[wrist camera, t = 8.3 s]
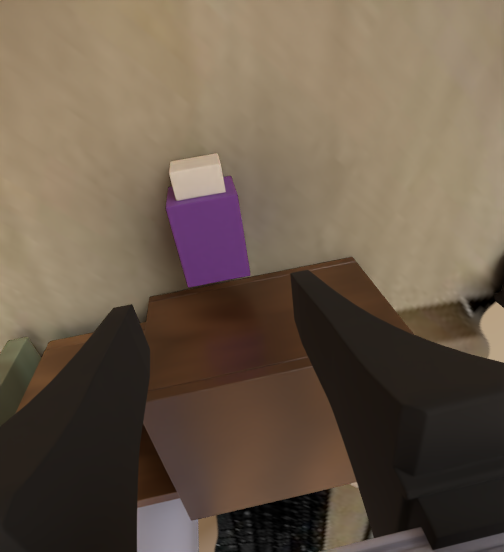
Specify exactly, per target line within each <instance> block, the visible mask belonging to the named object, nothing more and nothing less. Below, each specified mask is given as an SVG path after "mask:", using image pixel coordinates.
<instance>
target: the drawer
mask: <svg viewBox="0 0 504 552" xmlns="http://www.w3.org/2000/svg"><path fill="white" fill-rule="evenodd" d="M140 325H141V328H142V330H143V333H145V326H146V322H143V323H140ZM92 334H93V333H89V334H84V335H79V336H74V337H69V338H64V339H59V340H54V341H50V342H49V343H48V345H47V348H46V350H45V351H44V353H43V356H42V358H41V357H40V355H39V354H38V352H37V351H36V349H35V347H34V346H33V344H32V343H31V341H30V340H29V338H28V337H24V338H19V339H14V340H9V341H8V342H7V343H6V345H5V347H4V348H3V350H2V352H1V353H0V426H1V425H2V424H4V423H5V422H6V421H7V420H8V419H10V418H11V417H12V416H13V415H14V414H16V413H17V412H18V411H19V410H20V409H22V408H23V407H24V406H25V405H26V404H27V403H29V402H30V401H31V400H32V399H33V398H34V397H35V396H36V395H37V394H38V393H39V392H40V391H41V390H42V389H43V388H45V387H46V386H47V385H48V384H49V383H50V382H51V381H52V380H53V378H54V377H55V376H56V375H57V374H58V373H59V372H60V371H61V370H62V369H63V368H64V367H65V365H66V364H67V363H68V362H69V361H70V360H71V359H72V358H73V357H74V355H75V354H76V353H77V352H78V351H79V350H80V349H81V347H82V346H83V345H84V344H85V342H86V341H87V340H88V339H89V338H90V336H91V335H92ZM179 498H180V497H179V495H178V493H177V491H176V489H175V487H174V485H173V483H172V481H171V479H170V477H169V475H168V473H167V471H166V469H165V467H164V465H163V463H162V461H161V459H160V457H159V455H158V453H157V451H156V449H155V447H154V444H153V442H152V440H151V438H150V436H149V434H148V432H147V430H146V428H145V426H144V424H143V427H142V433H141V441H140V450H139V469H138V498H137V508H140V507H144V506H148V505H153V504H157V503H161V502H166V501H170V500H174V499H179Z"/></svg>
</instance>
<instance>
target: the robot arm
mask: <svg viewBox="0 0 504 552" xmlns="http://www.w3.org/2000/svg"><path fill="white" fill-rule="evenodd" d="M290 277H291V288H292V300H293V311H294V320H295V323H296V327H297V330H298V333H299V336H300V339H301V342H302V345H303V347H304V349H305V351H306V354H307V356H308V358H309V360H310V362H311V364H312V366H313V369H314V371H315V373H316V375H317V377H318V379H319V381H320V383H321V386H322V388H323V390H324V392H325V394H326V396H327V398H328V401H329V403H330V406H331V408H332V411H333V413H334V416H335V419H336V422H337V425H338V428H339V430H340V433H341V436H342V439H343V442H344V445H345V448H346V451H347V454H348V457H349V460H350V463H351V466H352V469H353V472H354V475H355V478H356V481H357V484H358V487H359V491H360V494H361V497H362V500H363V503H364V506H365V509H366V513H367V516H368V519H369V522H370V526H371V529H372V532H373V535H374V538H373V539H369V540H365V541H361V542H357V543H353V544H349V545H345V546H341V547H337V548H332V549H328V550H324V551H320V552H504V363H502V362H499V361H495V360H490V359H487V358H483V357H479V356H475V355H471V354H468V353H464V352H461V351H458V350H455V349H452V348H449V347H445V346H442V345H440V344H437V343H434V342H431V341H428V340H426V339H423V338H421V337H418V336H416V335H414V334H411V333H409V332H406V331H404V330H402V329H400V328H397V327H395V326H393V325H391V324H389V323H387V322H385V321H383V320H381V319H379V318H377V317H376V316H374V315H372V314H370V313H369V312H367V311H365V310H364V309H362V308H360V307H359V306H357V305H355V304H354V303H352V302H351V301H349V300H348V299H346V298H345V297H344V296H342V295H341V294H339V293H338V292H337V291H335V290H334V289H332V288H331V287H330V286H329V285H327V284H326V283H325V282H323V281H322V280H321V279H319V278H318V277H317V276H316V275H314V274H313V273H312V272H310V271H309V270H303V271H298V272H293V273H290ZM149 379H150V348H149V345H148V343H147V340H146V338H145V335H144V333H143V330H142V328H141V325H140V323H139V320H138V318H137V315H136V313H135V310H134V308H133V305H132V304H131V305H126V306H121V307H116V308H113V309H112V311H111V312H110V313H109V314H108V315H107V316H106V318H105V319H104V320H103V321H102V323H101V324H100V325H99V326H98V328H97V329H96V330H95V332H94V333H93V334H92V335H91V336H90V338H89V339H88V340H87V341H86V342H85V344H84V345H83V346H82V347H81V349H80V350H79V351H78V352H77V353H76V354H75V355H74V357H73V358H72V359H71V360H70V361H69V362H68V363H67V364H66V365H65V367H64V368H63V369H62V370H61V371H60V372H59V373H58V374H57V375H56V376H55V377H54V378H53V380H52V381H51V382H50V383H49V384H48V385H47V386H46V387H45V388H43V389H42V390H41V391H40V392H39V393H38V394H37V395H36V396H35V397H34V398H33V399H32V400H31V401H30V402H29V403H27V404H26V405H25V406H24V407H23V408H22V409H20V410H19V411H18V412H17V413H16V414H14V415H13V416H12V417H11V418H10V419H8V420H7V421H6V422H5V423H4V424H2V425H1V426H0V552H199V539H198V538H199V537H198V519H197V520H193V521H191V520H190V518H189V515H188V513H187V511H186V509H185V507H184V505H183V503H182V501H181V499H180V498H179V499H174V500H170V501H166V502H161V503H157V504H153V505H148V506H144V507H140V508H137V498H138V469H139V450H140V441H141V433H142V427H143V420H144V413H145V407H146V400H147V393H148V387H149Z"/></svg>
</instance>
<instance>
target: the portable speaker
mask: <svg viewBox="0 0 504 552" xmlns="http://www.w3.org/2000/svg"><path fill="white" fill-rule="evenodd" d="M494 296H495V301H496V302H497V303H499V304H500V305H501V306H502V307H504V284H503V286H502V290H501V291H500V292H497V293H494Z"/></svg>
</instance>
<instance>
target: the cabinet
mask: <svg viewBox="0 0 504 552" xmlns="http://www.w3.org/2000/svg"><path fill="white" fill-rule="evenodd" d="M303 270H309V271H310V272H312V273H313V274H314V275H316V276H317V277H318V278H319V279H321V280H322V281H323V282H325V283H326V284H327V285H329V286H330V287H331V288H332V289H334V290H335V291H337V292H338V293H339V294H341V295H342V296H344V297H345V298H346V299H348V300H349V301H351V302H352V303H354V304H355V305H357V306H359V307H360V308H362V309H364V310H365V311H367V312H369V313H370V314H372V315H374V316H376V317H377V318H379V319H381V320H383V321H385V322H387V323H389V324H391V325H393V326H395V327H397V328H400V329H402V330H404V331H406V332H409V333H411V334H413V332H412V331H411V330H410V329H409V327H408V326H407V325H406V324H405V322H404V321H403V320H402V319H401V317H400V316H399V315H398V314H397V312H396V311H395V310H394V309H393V307H392V306H391V305H390V304H389V302H388V301H387V300H386V299H385V297H384V296H383V295H382V294H381V292H380V291H379V290H378V289H377V287H376V286H375V285H374V284H373V282H372V281H371V280H370V279H369V277H368V276H367V275H366V274H365V272H364V271H363V270H362V269H361V267H360V266H359V265H358V263H357V262H356V261H355V260H354V258H353V257H350V258H344V259H339V260H334V261H329V262H324V263H319V264H314V265H309V266H304V267H299V268H294V269H289V270H284V271H279V272H274V273H268V274H263V275H258V276H253V277H248V278H243V279H238V280H233V281H228V282H223V283H218V284H213V285H208V286H203V287H198V288H193V289H187V290H182V291H177V292H172V293H167V294H162V295H157V296H152V297H150V299H149V306H148V313H147V319H146V326H145V333H144V335H145V338H146V340H147V343H148V345H149V348H150V379H149V387H148V393H147V400H146V407H145V413H144V420H143V424H144V426H145V428H146V430H147V432H148V434H149V436H150V438H151V440H152V442H153V444H154V447H155V449H156V451H157V453H158V455H159V457H160V459H161V461H162V463H163V465H164V467H165V469H166V471H167V473H168V475H169V477H170V479H171V481H172V483H173V485H174V487H175V489H176V491H177V493H178V495H179V497H180V499H181V501H182V503H183V505H184V507H185V509H186V511H187V513H188V515H189V518H190V520H191V521H193V520H197V519H201V518H206V517H210V516H214V515H218V514H223V513H227V512H231V511H235V510H240V509H244V508H248V507H253V506H257V505H261V504H265V503H270V502H274V501H278V500H282V499H287V498H291V497H295V496H300V495H304V494H308V493H312V492H317V491H321V490H325V489H329V488H334V487H338V486H342V485H347V484H351V483H355V482H357V481H356V478H355V475H354V472H353V469H352V466H351V463H350V460H349V457H348V454H347V451H346V448H345V445H344V442H343V439H342V436H341V433H340V430H339V428H338V425H337V422H336V419H335V416H334V413H333V411H332V408H331V406H330V403H329V401H328V398H327V396H326V394H325V392H324V390H323V388H322V386H321V383H320V381H319V379H318V377H317V375H316V373H315V371H314V369H313V366H312V364H311V362H310V360H309V358H308V356H307V354H306V351H305V349H304V347H303V345H302V342H301V339H300V336H299V333H298V330H297V327H296V323H295V320H294V311H293V300H292V288H291V277H290V273H293V272H298V271H303Z"/></svg>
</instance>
